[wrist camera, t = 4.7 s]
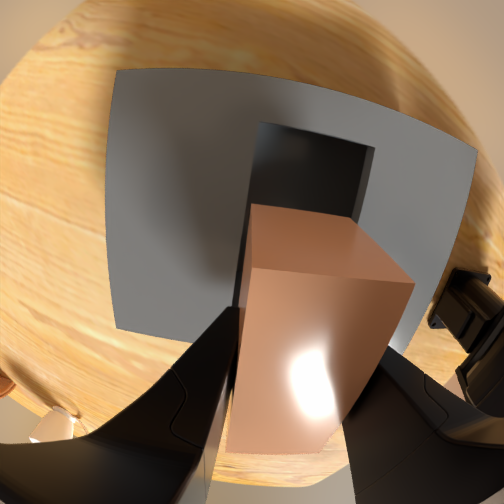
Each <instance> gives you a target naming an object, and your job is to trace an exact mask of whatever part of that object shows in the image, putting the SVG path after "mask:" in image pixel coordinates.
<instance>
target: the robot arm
mask: <svg viewBox="0 0 504 504" xmlns="http://www.w3.org/2000/svg"><path fill="white" fill-rule="evenodd" d="M456 273H457V274H456ZM490 280H491V275H490V274H488V273H484V272H479V271H473V270H468V269H462V268H455V269H454V270H453V271H452V273H451V276H450V278H449V280H448V283H447V285H446V287H445V289H444V292H443V294H442V296H441V298H440V300H439V302H438V305H437V307H436V309H435V311H434V313H433V315H432V317H431V319H430V321H429V323H428V326H429V327H430V328H431V329H444V328H447V329H448V330H449V332H450V333H451V334H452V335H453V337H454V338H455V339H456V340H457V341H458V342H459V344H460V345H461V346H462V348H463V349H464V350H465V352H466V353H468V354H469V355H468V357H467V358H466V359H465V360H464V362H463V363H462V364H461V365H460V366H458V367H457V369H456V370H455V372H456V374H457V378H458V381H459V384H460V386H461V389H462V391H463V394H464V397H465V400H466V401H464V400H462V399H461V398H459V397H458V396H456V395H454V394H453V393H452V392H450V391H449V390H447V389H446V388H444V387H443V386H442V385H440V384H439V383H438V382H436V381H435V380H433V379H432V378H431V377H430V376H428V375H427V374H424V372H423V371H422V370H420V369H419V368H418V367H416V366H415V365H414V364H413V363H411V362H410V361H409V360H407V359H406V358H405V357H403V356H402V355H401V354H399V353H398V352H397V351H395V350H394V349H393V348H391V347H390V346H389V345H388V346H387V348H386V350H385V352H384V354H383V356H382V358H381V359H380V361H379V363H378V365H377V367H376V369H375V370H374V372H373V374H372V376H371V377H370V379H369V381H368V382H367V384H366V386H365V387H364V389H363V391H362V392H361V394H360V396H359V397H358V399H357V400H356V402H355V403H354V405H353V406H352V408H351V410H350V411H349V413H348V414H347V415H346V417H345V418H344V420H343V421H342V426H343V431H344V436H345V441H346V447H347V452H348V457H349V463H350V469H351V474H352V480H353V487H354V493H355V495H356V496H355V501H356V504H504V300H502V299H501V298H500V297H499V296H498V295H497V294H496V293H495V292H494V291H493V290H492V289H490V288H489V287H488V284H489V282H490ZM239 313H240V307H232V306H227V307H226V308H225V309H224V310H223V311H222V313H221V314H220V315H219V316H218V317H217V318H216V319H215V320H214V321H213V322H212V323H211V324H210V326H209V327H208V328H207V329H206V330H205V331H204V332H203V333H202V334H201V335H200V336H199V337H198V339H197V340H196V341H195V342H194V343H193V344H192V345H191V346H190V347H189V348H188V349H187V350H186V351H185V353H184V354H183V355H182V356H181V357H180V358H179V359H178V360H177V361H176V362H175V363H174V364H173V365H172V366H171V368H170V369H168V370H167V371H166V373H165V374H164V375H163V376H162V377H161V378H160V379H159V380H158V381H157V382H156V383H155V384H154V385H153V386H152V387H151V388H150V389H148V390H147V391H146V392H145V393H144V394H142V395H141V396H140V397H139V398H138V399H136V400H135V401H134V402H133V403H131V404H130V405H129V406H127V407H126V408H125V409H123V410H122V411H121V412H119V413H118V414H117V415H115V416H114V417H113V418H112V419H110V420H109V421H107V422H106V423H105V424H103V425H102V426H101V427H99V428H98V429H96V430H95V431H93V432H91V433H89V434H87V435H84V436H81V437H78V438H73V439H66V440H58V441H49V442H37V443H21V444H3V443H0V504H205V503H206V499H207V495H208V491H209V487H210V482H211V478H212V474H213V470H214V465H215V461H216V457H217V452H218V448H219V444H220V439H221V435H222V431H223V426H224V422H225V418H226V413H227V409H228V404H229V400H230V395H231V391H232V385H233V377H234V370H235V362H236V355H237V347H238V339H239Z"/></svg>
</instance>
